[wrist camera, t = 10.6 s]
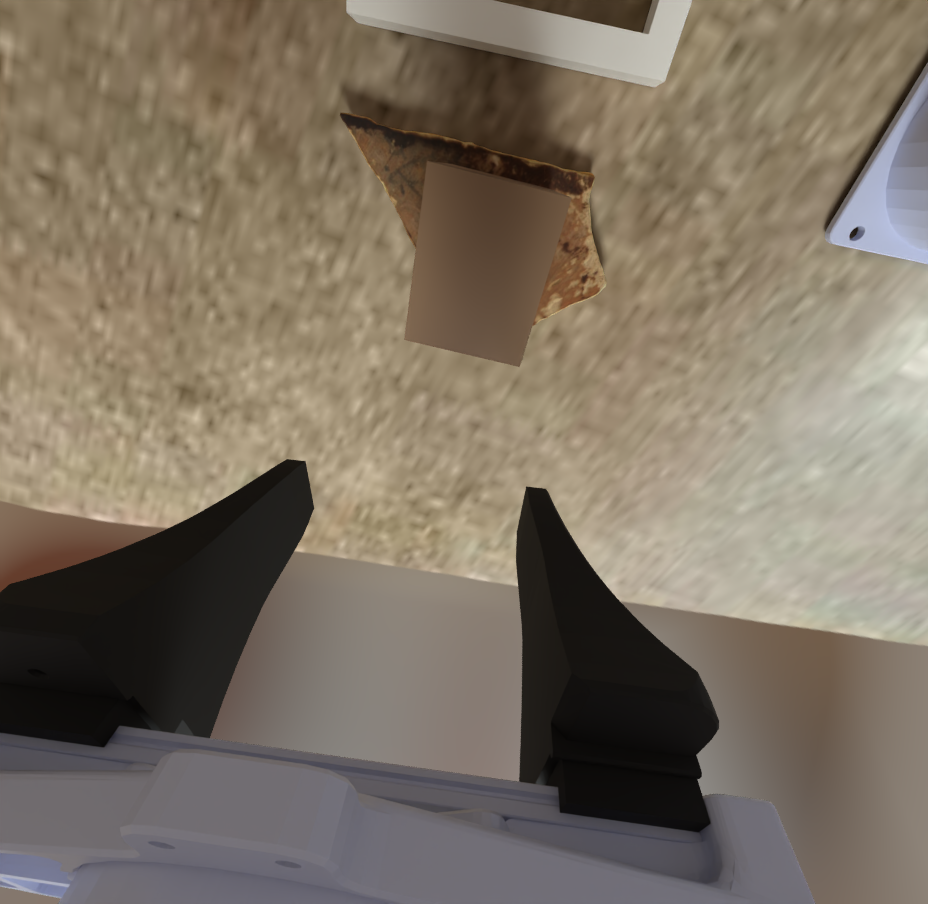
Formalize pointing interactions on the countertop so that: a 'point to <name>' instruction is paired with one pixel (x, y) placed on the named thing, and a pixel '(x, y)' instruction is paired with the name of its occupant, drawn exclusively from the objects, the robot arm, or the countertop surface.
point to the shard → (407, 154)
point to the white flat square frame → (539, 34)
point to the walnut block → (481, 261)
